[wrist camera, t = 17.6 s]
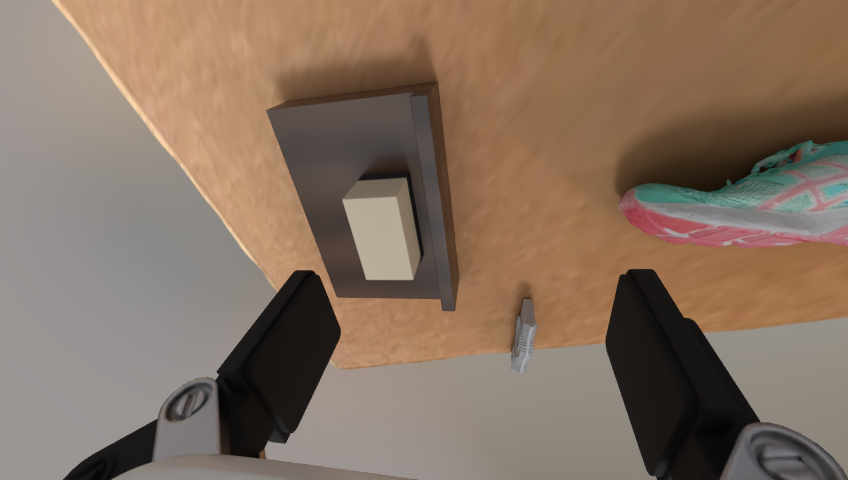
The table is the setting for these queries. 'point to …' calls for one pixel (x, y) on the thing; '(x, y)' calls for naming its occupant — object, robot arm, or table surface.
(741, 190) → the athletic shoe
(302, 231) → the table surface
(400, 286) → the shelf
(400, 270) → the tall beige carton
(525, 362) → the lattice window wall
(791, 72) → the table surface
